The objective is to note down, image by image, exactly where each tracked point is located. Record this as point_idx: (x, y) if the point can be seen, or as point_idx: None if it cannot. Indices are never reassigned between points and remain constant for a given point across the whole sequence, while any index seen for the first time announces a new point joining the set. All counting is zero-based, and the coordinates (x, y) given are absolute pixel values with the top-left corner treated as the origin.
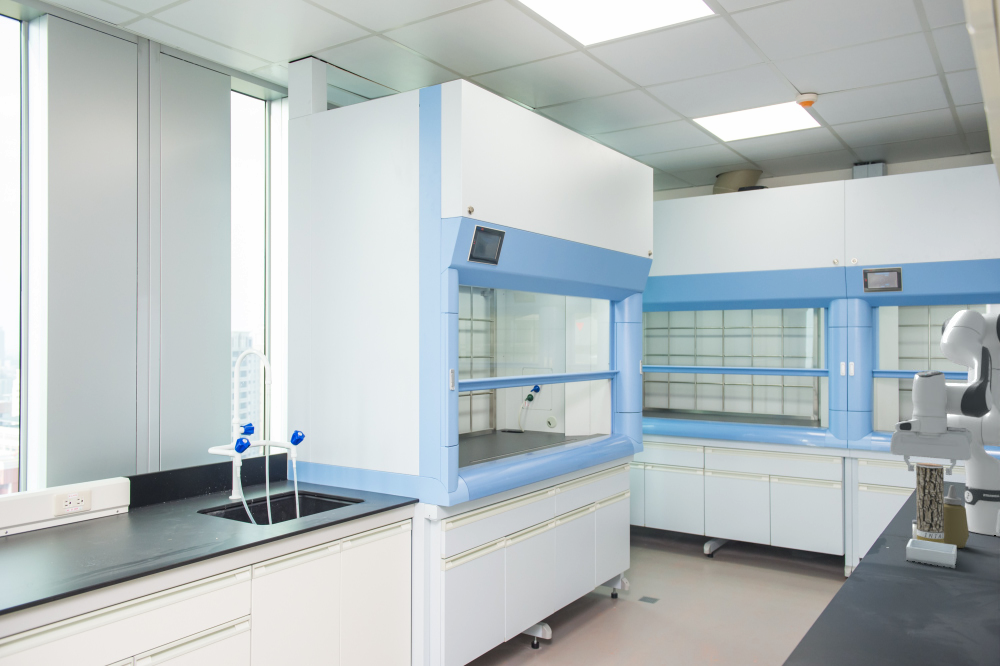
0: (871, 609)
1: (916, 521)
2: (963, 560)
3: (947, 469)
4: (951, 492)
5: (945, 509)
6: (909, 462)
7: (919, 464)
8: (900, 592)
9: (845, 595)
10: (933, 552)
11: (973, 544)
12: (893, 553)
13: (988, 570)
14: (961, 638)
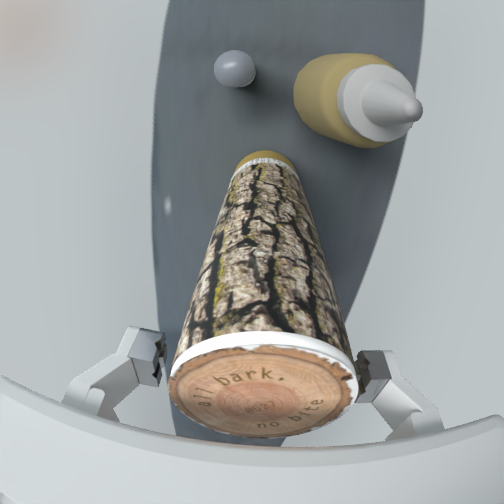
0: (201, 434)
1: (228, 84)
2: (327, 241)
3: (362, 399)
4: (388, 121)
5: (333, 133)
6: (119, 377)
7: (195, 417)
8: None
9: (175, 421)
10: None
11: (383, 52)
12: (186, 256)
13: (353, 291)
14: None
